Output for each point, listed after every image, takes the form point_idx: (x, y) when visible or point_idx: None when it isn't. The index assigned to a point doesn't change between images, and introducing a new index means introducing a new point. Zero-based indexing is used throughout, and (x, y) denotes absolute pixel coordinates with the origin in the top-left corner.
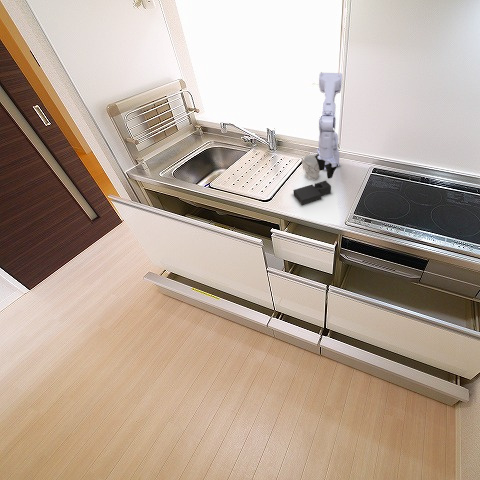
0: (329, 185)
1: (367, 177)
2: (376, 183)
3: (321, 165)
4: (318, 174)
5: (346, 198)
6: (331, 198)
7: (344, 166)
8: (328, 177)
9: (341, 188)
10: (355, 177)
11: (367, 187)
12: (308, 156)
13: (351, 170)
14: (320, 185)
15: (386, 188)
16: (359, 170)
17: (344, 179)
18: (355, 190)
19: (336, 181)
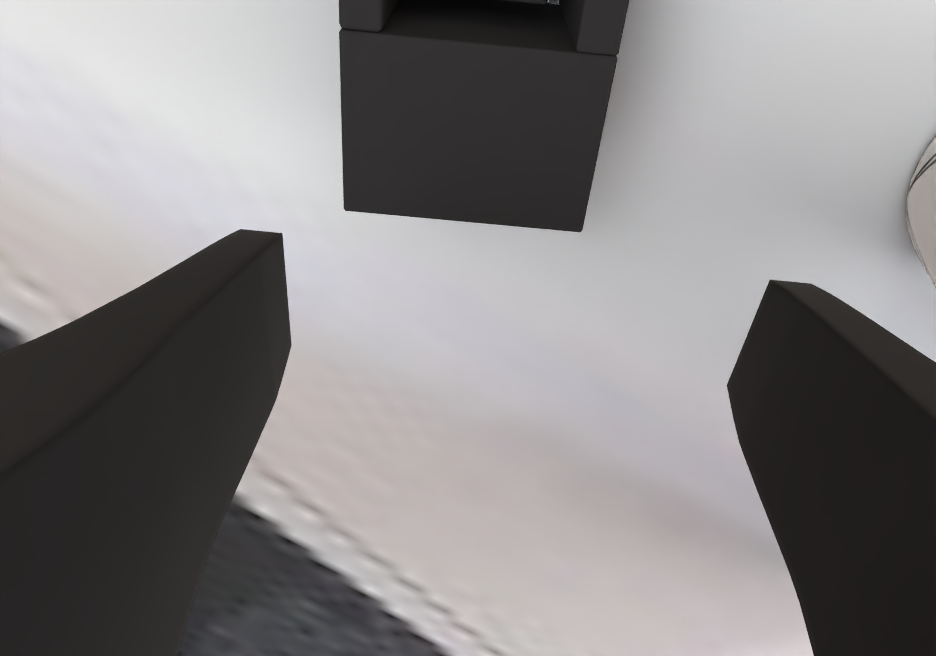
0: (376, 194)
1: (445, 635)
2: (307, 633)
3: (826, 439)
4: (928, 268)
5: (155, 265)
6: (240, 65)
7: (788, 604)
8: (209, 253)
9: (414, 345)
10: (520, 571)
11: (281, 554)
12: None
13: (663, 609)
14: (529, 38)
15: (190, 642)
16: (602, 650)
17: (569, 477)
18: (284, 444)
19: (602, 386)
